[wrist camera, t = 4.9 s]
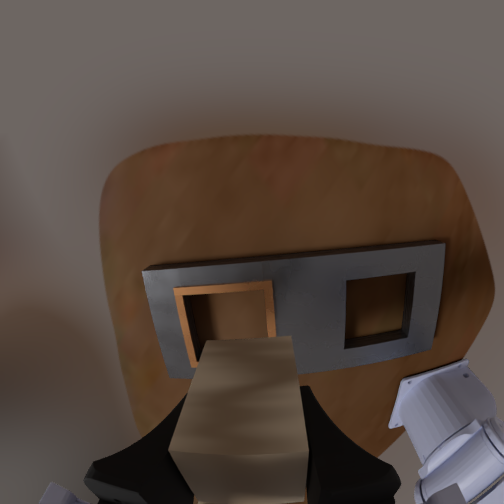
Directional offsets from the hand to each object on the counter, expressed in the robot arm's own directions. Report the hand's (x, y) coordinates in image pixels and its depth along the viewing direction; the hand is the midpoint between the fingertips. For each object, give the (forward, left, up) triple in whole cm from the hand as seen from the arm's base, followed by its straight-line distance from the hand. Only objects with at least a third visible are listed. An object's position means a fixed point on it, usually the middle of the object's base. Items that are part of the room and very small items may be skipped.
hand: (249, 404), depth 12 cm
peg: (0, 0, -3) cm, 3 cm away
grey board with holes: (-4, 0, -10) cm, 11 cm away
